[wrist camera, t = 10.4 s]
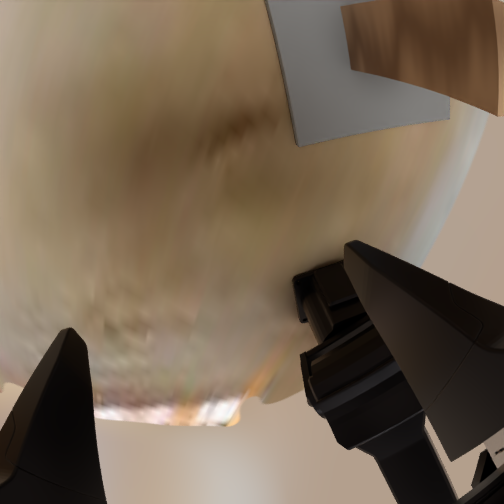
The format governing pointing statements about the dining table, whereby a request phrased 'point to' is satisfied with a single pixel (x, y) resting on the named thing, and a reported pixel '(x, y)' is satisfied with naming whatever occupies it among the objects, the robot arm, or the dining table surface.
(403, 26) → the wooden block
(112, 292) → the dining table surface
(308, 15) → the flat gray square pad
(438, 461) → the robot arm
